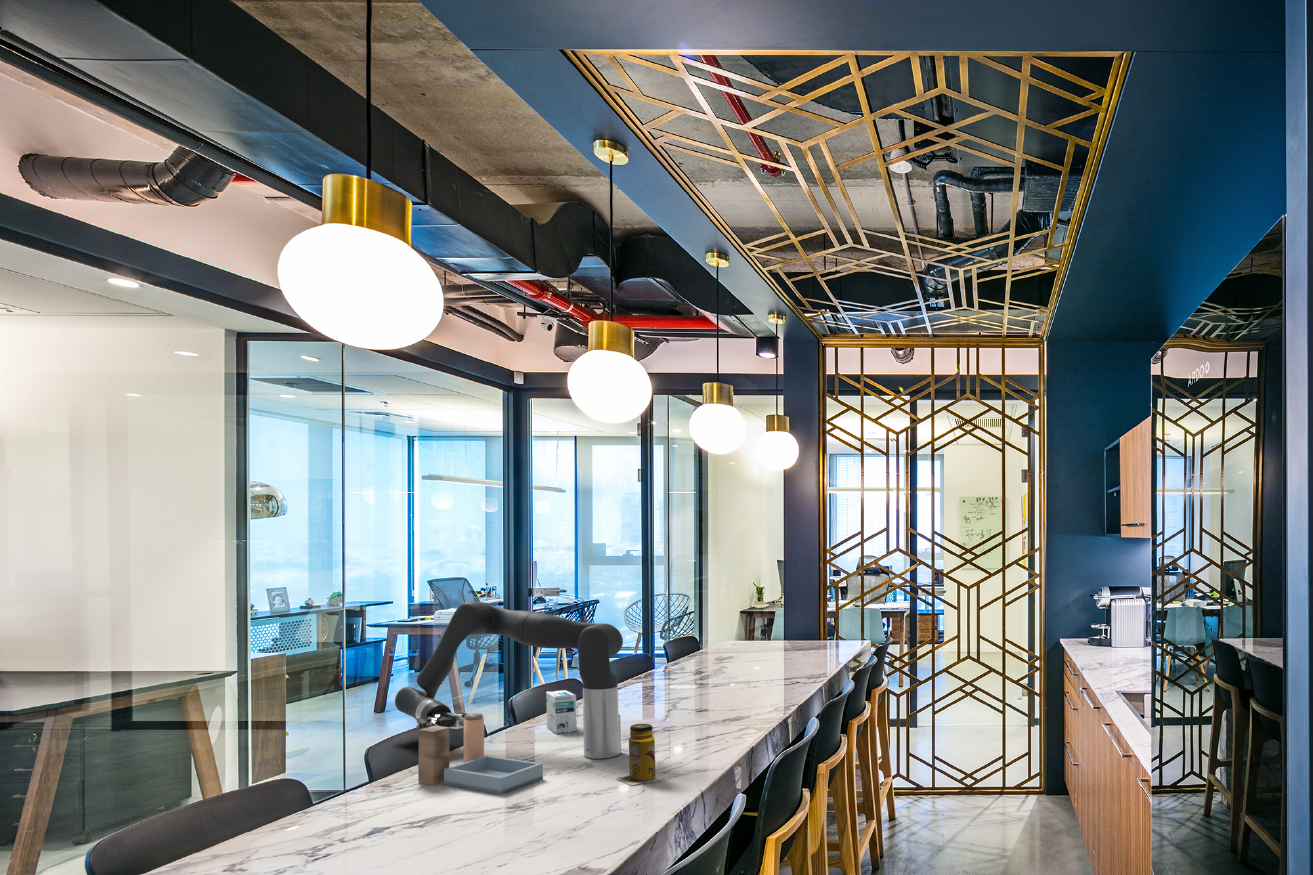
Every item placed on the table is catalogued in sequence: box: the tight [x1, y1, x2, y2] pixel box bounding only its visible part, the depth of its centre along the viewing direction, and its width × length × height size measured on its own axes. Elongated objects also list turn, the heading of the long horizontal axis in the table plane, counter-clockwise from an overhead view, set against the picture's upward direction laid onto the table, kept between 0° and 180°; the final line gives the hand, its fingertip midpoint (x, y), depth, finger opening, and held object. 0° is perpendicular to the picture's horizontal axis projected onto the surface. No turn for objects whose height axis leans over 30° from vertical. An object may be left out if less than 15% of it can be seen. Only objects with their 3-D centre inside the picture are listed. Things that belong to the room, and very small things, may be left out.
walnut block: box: [417, 726, 450, 786], centre depth 198 cm, size 5×5×12 cm
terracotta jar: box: [463, 712, 485, 763], centre depth 209 cm, size 5×5×13 cm
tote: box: [443, 755, 544, 795], centre depth 196 cm, size 14×18×4 cm
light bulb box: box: [545, 689, 578, 734], centre depth 251 cm, size 11×7×11 cm, turn 23°
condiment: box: [615, 723, 663, 786], centre depth 194 cm, size 7×8×12 cm
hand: (455, 729), depth 218 cm, fingers open, 8 cm apart
